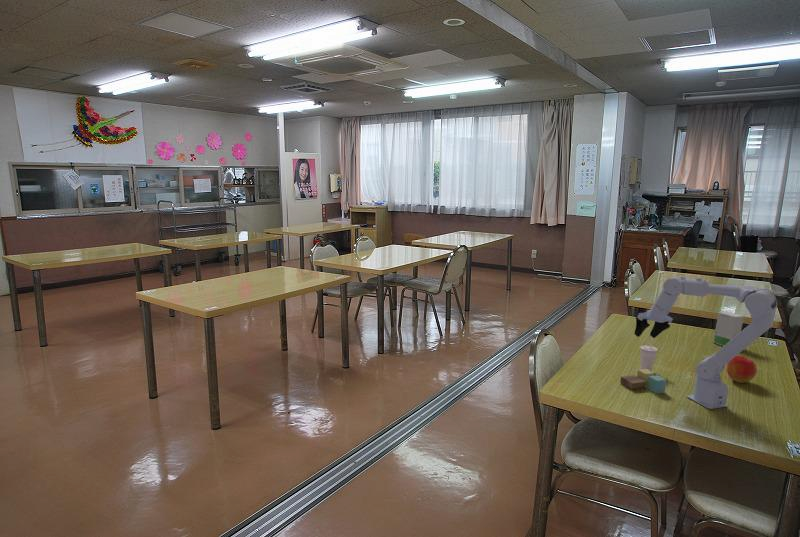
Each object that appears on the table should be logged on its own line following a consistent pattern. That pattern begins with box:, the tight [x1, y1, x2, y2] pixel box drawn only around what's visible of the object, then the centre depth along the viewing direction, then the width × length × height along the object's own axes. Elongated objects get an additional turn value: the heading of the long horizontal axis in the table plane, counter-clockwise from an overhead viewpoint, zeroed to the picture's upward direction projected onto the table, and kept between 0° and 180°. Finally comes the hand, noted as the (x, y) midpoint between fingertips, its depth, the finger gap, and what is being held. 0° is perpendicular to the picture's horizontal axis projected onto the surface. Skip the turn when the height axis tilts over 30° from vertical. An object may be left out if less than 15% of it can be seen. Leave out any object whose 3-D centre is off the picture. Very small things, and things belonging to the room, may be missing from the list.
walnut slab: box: [619, 374, 646, 391], centre depth 176 cm, size 6×6×3 cm
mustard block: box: [636, 368, 655, 387], centre depth 178 cm, size 4×4×5 cm
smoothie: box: [639, 337, 658, 371], centre depth 189 cm, size 6×6×14 cm
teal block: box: [646, 374, 667, 395], centre depth 172 cm, size 4×4×5 cm
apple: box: [726, 355, 758, 384], centre depth 181 cm, size 10×10×10 cm
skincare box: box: [712, 310, 745, 347], centre depth 220 cm, size 8×7×16 cm
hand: (644, 335), depth 178 cm, fingers open, 7 cm apart
